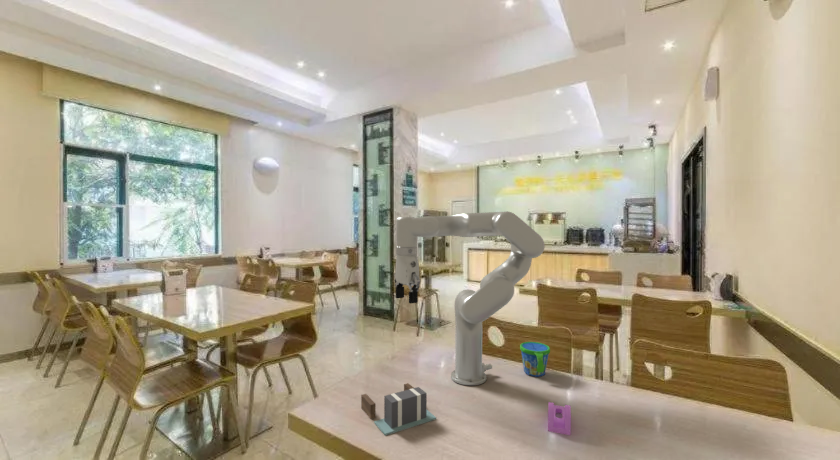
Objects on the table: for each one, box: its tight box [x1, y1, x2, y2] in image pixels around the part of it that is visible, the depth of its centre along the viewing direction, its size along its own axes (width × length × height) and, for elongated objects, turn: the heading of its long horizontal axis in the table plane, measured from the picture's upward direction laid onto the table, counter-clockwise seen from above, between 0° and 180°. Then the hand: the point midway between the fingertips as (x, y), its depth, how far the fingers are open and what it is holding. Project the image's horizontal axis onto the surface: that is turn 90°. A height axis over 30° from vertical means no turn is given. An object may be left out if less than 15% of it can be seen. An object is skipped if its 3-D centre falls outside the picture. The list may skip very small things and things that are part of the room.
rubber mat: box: [373, 408, 437, 436], centre depth 103 cm, size 16×7×1 cm, turn 121°
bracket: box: [547, 401, 572, 436], centre depth 103 cm, size 13×6×7 cm, turn 160°
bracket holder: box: [360, 382, 415, 420], centre depth 111 cm, size 16×7×4 cm, turn 121°
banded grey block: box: [383, 386, 428, 429], centre depth 103 cm, size 11×4×7 cm, turn 121°
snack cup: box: [519, 341, 551, 378], centre depth 136 cm, size 16×10×10 cm
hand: (406, 300), depth 129 cm, fingers open, 9 cm apart
